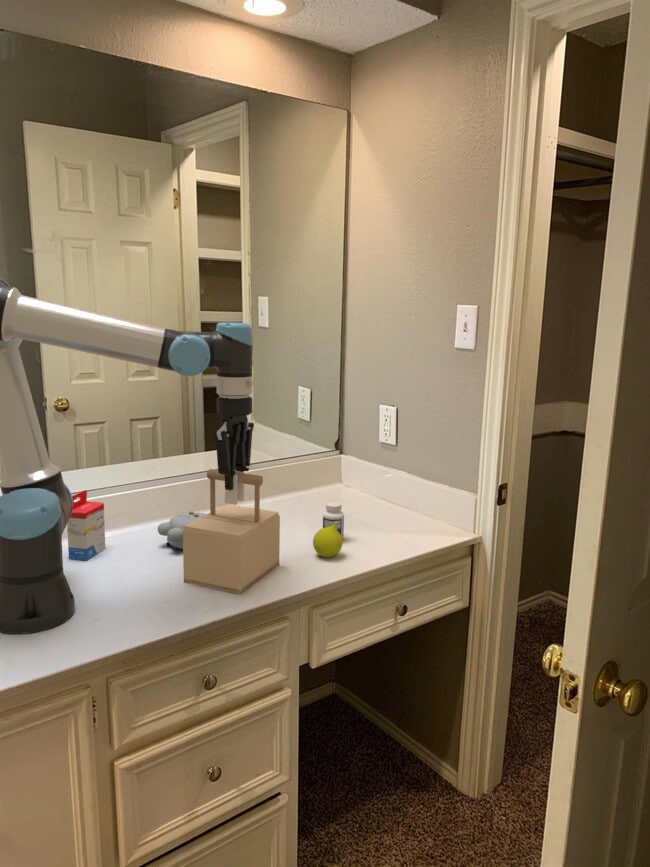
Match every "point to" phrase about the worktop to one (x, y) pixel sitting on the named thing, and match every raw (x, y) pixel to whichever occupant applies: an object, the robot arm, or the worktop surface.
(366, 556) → the worktop surface
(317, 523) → the worktop surface
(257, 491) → the tan handled panel part
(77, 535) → the ink box
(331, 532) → the ornament
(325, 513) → the pill bottle
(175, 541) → the figurine
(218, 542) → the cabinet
